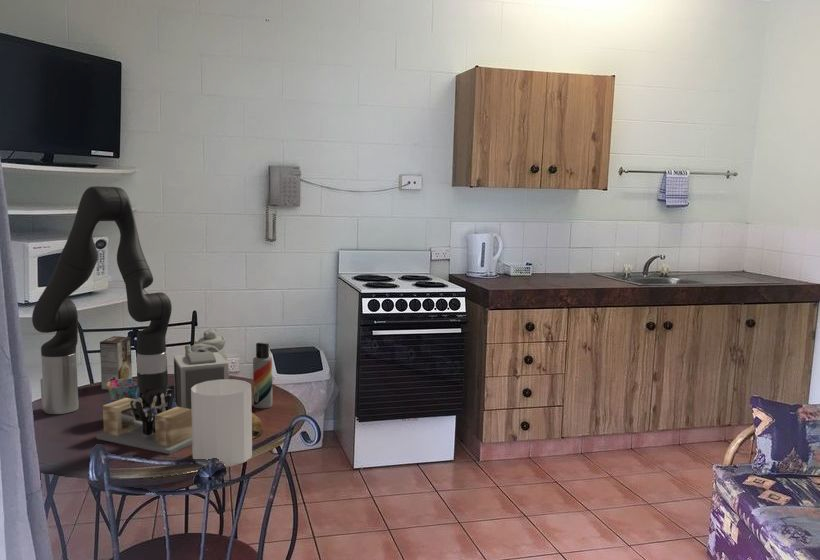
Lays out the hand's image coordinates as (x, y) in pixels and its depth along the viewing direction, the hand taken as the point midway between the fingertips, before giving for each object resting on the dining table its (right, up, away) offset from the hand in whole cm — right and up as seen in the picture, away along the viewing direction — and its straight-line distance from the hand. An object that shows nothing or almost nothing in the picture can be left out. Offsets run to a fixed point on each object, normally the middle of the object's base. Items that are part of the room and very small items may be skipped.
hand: (154, 431), depth 184 cm
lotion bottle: (+22, +1, +31) cm, 38 cm away
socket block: (+6, -3, -2) cm, 7 cm away
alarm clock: (+6, 0, +23) cm, 23 cm away
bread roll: (+22, -2, +6) cm, 23 cm away
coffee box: (-31, +4, +49) cm, 58 cm away
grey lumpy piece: (-2, +4, +52) cm, 52 cm away
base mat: (-2, -2, +1) cm, 3 cm away
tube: (-3, 0, +1) cm, 3 cm away
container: (+21, -4, -10) cm, 23 cm away
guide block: (-10, 0, +5) cm, 11 cm away
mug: (-15, 0, +19) cm, 24 cm away
